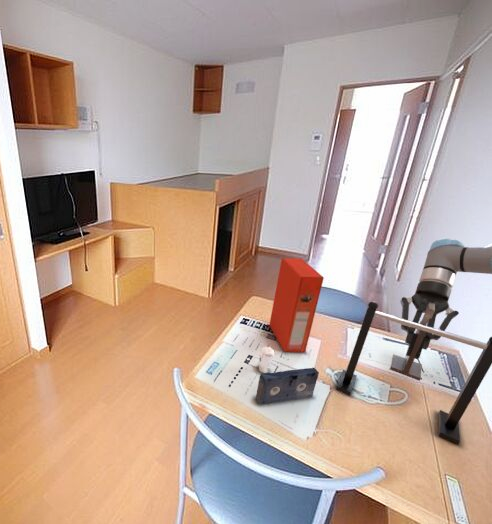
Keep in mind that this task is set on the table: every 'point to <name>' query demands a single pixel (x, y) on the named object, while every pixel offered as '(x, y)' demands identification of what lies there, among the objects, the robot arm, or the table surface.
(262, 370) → the milkshake
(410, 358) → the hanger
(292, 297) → the file binder
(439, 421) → the coat rack
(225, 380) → the table surface
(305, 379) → the vhs cassette tape
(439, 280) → the robot arm
